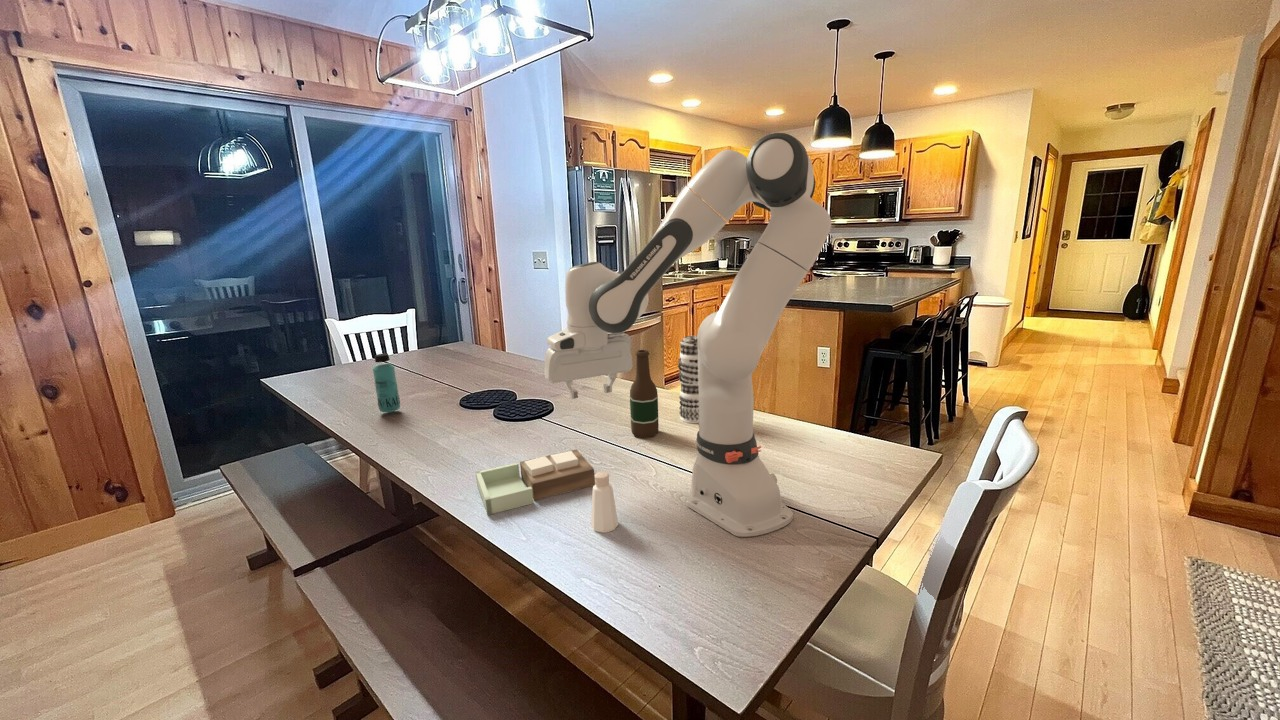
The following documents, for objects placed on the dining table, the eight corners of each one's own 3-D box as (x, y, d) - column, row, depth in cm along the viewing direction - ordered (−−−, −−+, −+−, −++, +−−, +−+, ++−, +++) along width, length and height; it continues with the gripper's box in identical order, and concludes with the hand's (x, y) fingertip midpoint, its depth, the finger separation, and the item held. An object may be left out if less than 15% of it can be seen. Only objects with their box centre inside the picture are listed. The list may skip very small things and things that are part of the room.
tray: (533, 503, 108) (532, 488, 107) (487, 515, 104) (485, 499, 103) (518, 476, 120) (517, 462, 119) (477, 485, 116) (475, 471, 115)
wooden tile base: (594, 485, 115) (593, 469, 114) (534, 500, 109) (532, 483, 108) (577, 464, 125) (576, 449, 124) (521, 477, 119) (519, 461, 118)
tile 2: (578, 465, 116) (577, 458, 115) (557, 470, 114) (556, 463, 113) (571, 456, 120) (571, 450, 120) (551, 461, 118) (550, 455, 118)
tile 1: (553, 470, 114) (552, 464, 113) (532, 476, 111) (531, 470, 111) (545, 462, 118) (545, 456, 117) (524, 468, 115) (524, 461, 115)
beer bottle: (659, 428, 146) (657, 347, 140) (657, 439, 138) (655, 354, 132) (632, 428, 147) (629, 347, 141) (629, 438, 139) (626, 354, 133)
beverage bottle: (381, 411, 168) (371, 353, 163) (403, 408, 170) (394, 351, 165) (378, 418, 162) (367, 357, 157) (400, 415, 164) (390, 355, 159)
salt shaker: (585, 525, 99) (581, 474, 96) (606, 514, 103) (603, 465, 100) (603, 536, 95) (600, 484, 93) (624, 524, 99) (621, 473, 96)
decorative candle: (714, 415, 154) (714, 335, 148) (701, 425, 146) (701, 341, 140) (686, 411, 159) (686, 333, 152) (673, 420, 151) (672, 339, 145)
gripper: (624, 328, 120) (626, 384, 123) (539, 338, 111) (544, 398, 115) (636, 333, 114) (637, 391, 118) (547, 344, 106) (552, 406, 109)
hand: (591, 395), depth 116 cm, fingers open, 7 cm apart
